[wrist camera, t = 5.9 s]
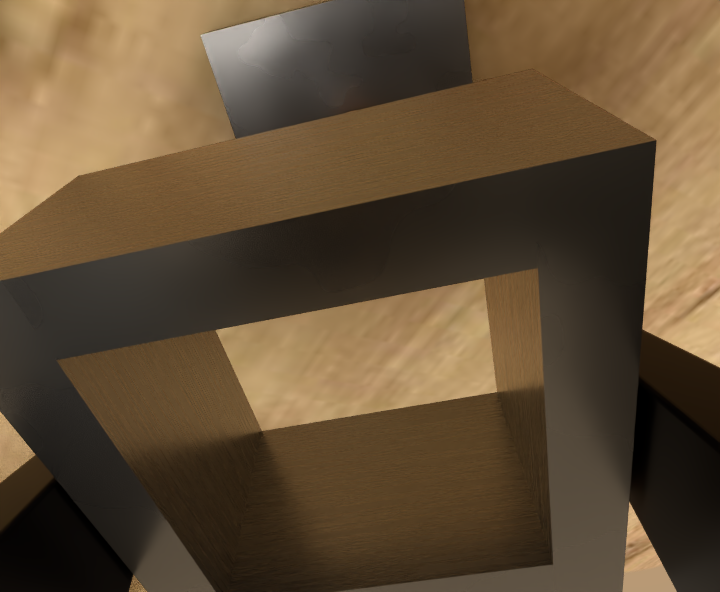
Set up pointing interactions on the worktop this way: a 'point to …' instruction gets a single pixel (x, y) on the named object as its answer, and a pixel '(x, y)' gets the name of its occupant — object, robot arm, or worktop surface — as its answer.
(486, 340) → the worktop surface
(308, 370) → the worktop surface
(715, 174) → the worktop surface
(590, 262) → the hollow square frame
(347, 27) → the keeper
